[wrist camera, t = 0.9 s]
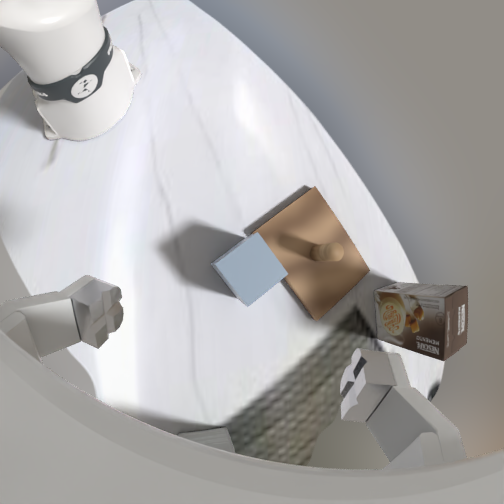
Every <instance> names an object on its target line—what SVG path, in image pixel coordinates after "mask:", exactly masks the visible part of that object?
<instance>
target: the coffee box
mask: <svg viewBox="0 0 504 504" xmlns="http://www.w3.org/2000/svg"><path fill="white" fill-rule="evenodd" d="M374 298H375V309H376V322H377V338H378V339H379V340H382V341H385V342H387V343H390V344H393V345H396V346H399V347H402V348H405V349H408V350H411V351H414V352H417V353H420V354H423V355H426V356H429V357H432V358H435V359H438V360H442V361H445V360H446V359H447V358H449V357H450V356H452V355H453V354H455V353H456V352H457V351H459V349H460V348H461V347H463V346H464V345H465V344H466V343H467V327H468V326H467V324H468V287H467V286H454V285H434V284H417V283H402V282H398V283H395V284H392V285H389V286H386V287H383V288H380V289H377V290H375V291H374Z"/></svg>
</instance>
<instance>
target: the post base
mask: <svg viewBox="0 0 504 504" xmlns="http://www.w3.org/2000/svg"><path fill="white" fill-rule="evenodd" d="M257 232H258V233H259V234H260V236H261V237H262V238H263V240H264V241H265V243H266V244H267V245H268V247H269V248H270V249H271V251H272V252H273V253H274V255H275V256H276V258H277V259H278V260H279V262H280V263H281V264H282V266H283V267H284V269H285V270H286V271H287V273H288V275H287V276H285V277H284V279H285V281H286V282H287V283H288V285H289V286H290V287H291V289H292V290H293V292H294V293H295V294H296V296H297V297H298V299H299V300H300V301H301V303H302V304H303V305H304V307H305V308H306V310H307V311H308V312H309V314H310V315H311V316H312V318H313V319H314V320H316V321H318V320H319V319H320V318H321V317H322V316H323V315H324V314H325V313H327V312H328V311H329V310H330V309H331V308H332V307H333V306H334V305H335V304H336V303H337V302H338V301H339V300H341V299H342V298H343V297H344V296H345V295H346V294H347V293H348V292H349V291H350V290H351V289H352V288H353V287H354V286H355V285H356V284H357V283H358V282H359V281H360V280H361V279H362V278H363V277H364V276H365V275H366V274H367V273H368V272H369V271H370V270H369V268H368V266H367V265H366V263H365V261H364V260H363V258H362V256H361V255H360V253H359V251H358V250H357V248H356V247H355V245H354V243H353V242H352V240H351V239H350V237H349V236H348V234H347V232H346V231H345V229H344V228H343V226H342V225H341V223H340V222H339V220H338V219H337V217H336V216H335V214H334V213H333V211H332V210H331V208H330V207H329V205H328V204H327V202H326V201H325V200H324V198H323V197H322V195H321V194H320V192H319V191H318V190H317V188H316V187H313V188H312V189H310V190H309V191H307V192H306V193H305V194H303V195H302V196H301V197H299V198H298V199H297V200H295V201H294V202H293V203H291V204H290V205H288V206H287V207H286V208H284V209H283V210H282V211H280V212H279V213H278V214H276V215H275V216H274V217H272V218H271V219H270V220H268V221H267V222H266V223H264V224H263V225H262V226H260V227H259V228H258V229H256V230H255V231H254V232H252V233H251V234H254V233H257Z"/></svg>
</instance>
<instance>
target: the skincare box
mask: <svg viewBox="0 0 504 504" xmlns="http://www.w3.org/2000/svg"><path fill="white" fill-rule="evenodd" d="M178 436H179V437H182V438H185V439H188V440H191V441H194V442H197V443H200V444H203V445H206V446H210V447H213V448H216V449H220V450H224V451H227V452H231V453H235V450H234V447H233V445H232V442H231V439H230V436H229V433H228V430H227V427H224V428H218V429H211V430H204V431H196V432H187V433H178ZM235 454H236V453H235Z"/></svg>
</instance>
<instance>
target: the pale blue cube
mask: <svg viewBox="0 0 504 504" xmlns="http://www.w3.org/2000/svg"><path fill="white" fill-rule="evenodd" d="M211 265H212V266H213V267H214V269H215V270H216V271H217V273H218V274H219V275H220V277H221V278H222V279H223V281H224V282H225V283H226V284H227V286H228V287H229V288H230V290H231V291H232V292H233V294H234V295H235V296H236V297H237V299H239V300H240V301H241V302H242V303H244V304H245V305H246V306H247V307H248V306H250V305H251V304H252V303H253V302H255V301H256V300H257V299H258V298H260V297H261V296H262V295H263V294H265V293H266V292H267V291H268V290H270V289H271V288H272V287H273V286H274V285H276V284H277V283H278V282H279V281H281V280H282V279H283V278H284V277H285V276H287V275H288V273H287V271H286V270H285V269H284V267H283V266H282V264H281V263H280V262H279V260H278V259H277V258H276V256H275V255H274V253H273V252H272V251H271V249H270V248H269V247H268V245H267V244H266V243H265V241H264V240H263V238H262V237H261V236H260V234H259V233H258V232H257V233H254V234H252V235H250V236H248V237H246V238H244V239H243V240H242V241H240V242H239V243H238V244H236V245H235V246H234V247H232V248H231V249H230V250H228V251H227V252H226V253H224V254H223V255H222V256H221V257H219V258H218V259H217V260H215V261H214V262H213V263H211Z"/></svg>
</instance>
